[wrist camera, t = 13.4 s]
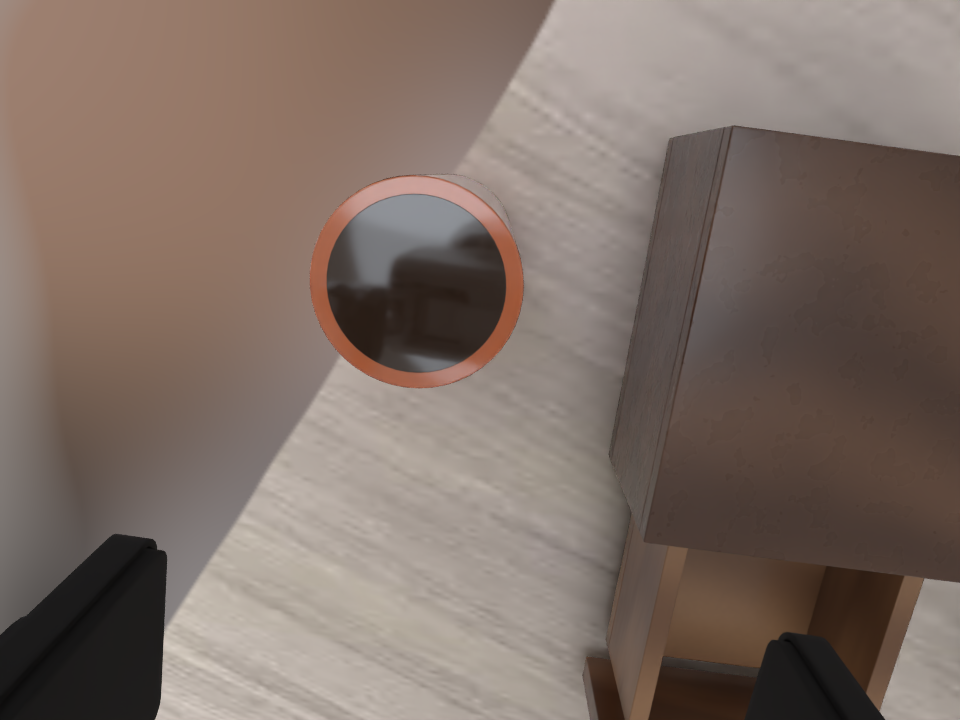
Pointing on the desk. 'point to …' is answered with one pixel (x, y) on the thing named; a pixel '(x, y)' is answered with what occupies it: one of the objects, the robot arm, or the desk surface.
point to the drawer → (734, 628)
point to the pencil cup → (418, 279)
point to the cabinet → (798, 355)
